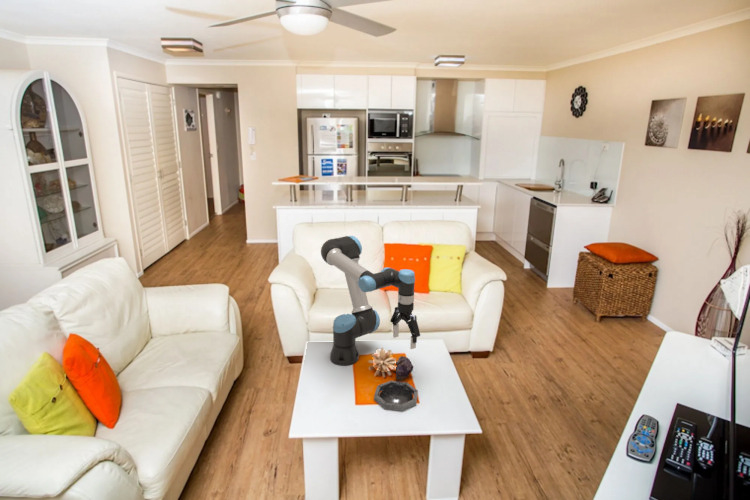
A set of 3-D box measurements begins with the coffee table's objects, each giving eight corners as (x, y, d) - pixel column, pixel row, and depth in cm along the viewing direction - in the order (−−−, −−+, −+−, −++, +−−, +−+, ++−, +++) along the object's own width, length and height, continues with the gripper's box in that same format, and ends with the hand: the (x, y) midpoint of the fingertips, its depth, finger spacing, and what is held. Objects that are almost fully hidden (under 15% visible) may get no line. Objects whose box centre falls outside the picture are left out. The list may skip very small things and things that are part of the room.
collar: (367, 394, 205) (367, 389, 204) (399, 381, 216) (400, 376, 215) (391, 416, 190) (391, 411, 189) (425, 401, 201) (425, 396, 200)
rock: (393, 383, 216) (413, 383, 216) (393, 369, 213) (414, 369, 212) (392, 367, 227) (412, 367, 227) (392, 353, 223) (412, 353, 223)
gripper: (384, 295, 217) (383, 334, 223) (416, 313, 198) (414, 355, 204) (396, 292, 222) (395, 330, 227) (429, 309, 202) (426, 351, 208)
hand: (404, 342), depth 216 cm, fingers open, 13 cm apart
